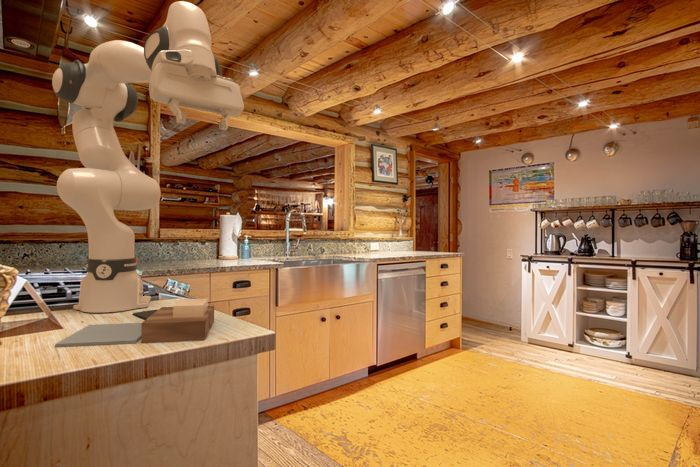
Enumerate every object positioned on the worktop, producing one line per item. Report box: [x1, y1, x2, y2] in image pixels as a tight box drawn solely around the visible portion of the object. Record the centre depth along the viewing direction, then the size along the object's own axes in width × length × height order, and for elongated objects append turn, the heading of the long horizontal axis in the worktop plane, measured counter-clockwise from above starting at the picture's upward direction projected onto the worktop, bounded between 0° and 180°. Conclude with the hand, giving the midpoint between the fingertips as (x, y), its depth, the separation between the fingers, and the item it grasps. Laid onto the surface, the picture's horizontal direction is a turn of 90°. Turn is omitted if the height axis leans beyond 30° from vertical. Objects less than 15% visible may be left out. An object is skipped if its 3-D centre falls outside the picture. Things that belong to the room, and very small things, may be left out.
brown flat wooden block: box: [140, 305, 215, 344], centre depth 85 cm, size 16×12×4 cm
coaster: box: [172, 298, 209, 318], centre depth 85 cm, size 8×6×2 cm
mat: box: [54, 322, 142, 348], centre depth 81 cm, size 15×14×1 cm
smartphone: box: [131, 308, 160, 321], centre depth 98 cm, size 7×1×15 cm
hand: (203, 125), depth 84 cm, fingers open, 8 cm apart
